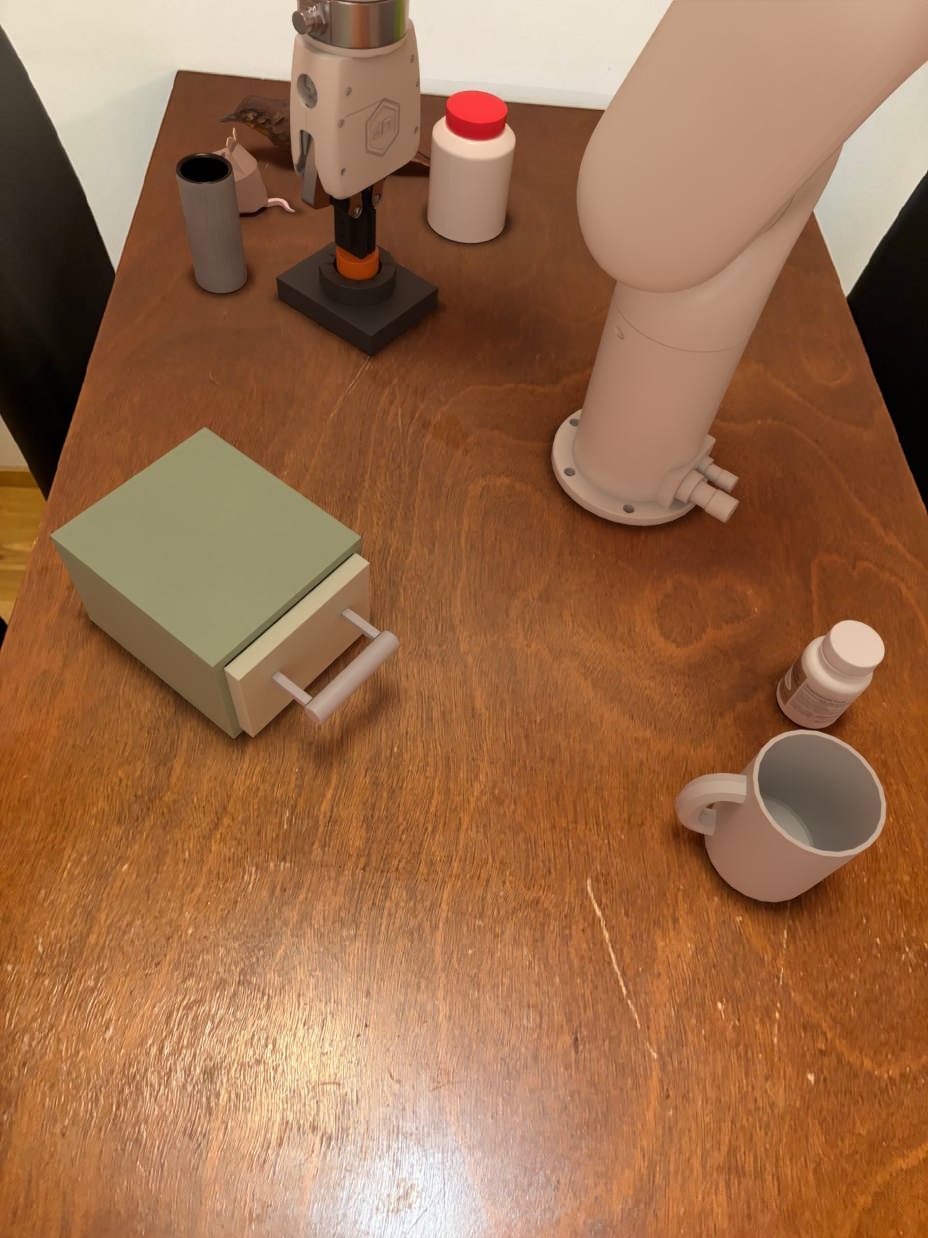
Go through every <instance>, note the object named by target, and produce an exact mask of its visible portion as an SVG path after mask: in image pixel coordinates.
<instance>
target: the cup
mask: <svg viewBox="0 0 928 1238" xmlns="http://www.w3.org/2000/svg"><path fill="white" fill-rule="evenodd" d="M712 804H713V805H712ZM710 805H712V807H711V808H708V806H710ZM674 810H675V813H676V815H677V817H678V820H679V822H680V824H681V825H683V826H684V827H685V828H687V829H689V830H691V831H693V832H695V833H698V834H702V835H704V836H703V837H704V844H705V849H706V852H707V854H708V857H709V861H710V862H711V864H712V865H713V867H714V868H715V870H716V872H717V873H718V874H719V876H720V877H721V878H722V879H723V880H724V881H725V882H726V883H727V884H728V885H729V886H730V887H731V888H733V889H734V890H736V891H738V892H739V893H741V894H742V895H744V896H746V897H747V898H748V897H749V898H752V899H754V900H757V901H759V902H770V903H779V902H784V901H785V902H786V901H789V900H792V899H795V898H796V897H798V896H799V895H802V894H803V893H805V892H807V891H809V890H810V889H811V888H813V887H814V886H816V885H817V884H819V883H820V882H821V881H823V880H824V879H826V878H827V877H828V876H830V875H831V874H833V873H834V872H835V871H837V870H838V869H840V868H841V867H842V866H844V865H845V864H847V863H848V862H850V861H851V860H852V859H854V858H855V857H857V856H858V855H859V854H861V853H862V852H864V851H865V850H867V849H868V848H870V847H871V846H872V845H873V843H874V842H875V841H876V840H877V839H878V838H879V836H880V835H881V833H882V831H883V828H884V826H885V823H886V818H887V801H886V797H885V792H884V788H883V785H882V784H881V780H880V779H879V777H878V775H877V773H876V771H875V770H874V769H873V767H872V766H871V765H870V764H869V762H868V761H867V760H866V759H865V757H863V755H861V754H860V752H858V751H857V750H856V749H855V748H853V747H852V746H851V745H850V744H849V743H846V742H845V741H842V740H841V739H839V738H837V737H836V736H834V735H832V734H831V735H830V734H828V733H824V732H821V731H819V730H810V729H796V730H790V731H785V732H783V733H781V734H778V735H776V736H774V737H772V738H771V739H770V740H769V741H768V742H767V743H766V744H764V745H763V747H762V748H761V749H760V750H759V751H758V752H757V753H756V754H755V755H754V757H752V759H751V760H750V761H749V762H748V763H747V764H746V766H745V767H744V768H743V769H742V770H741V772H740V773H739V774H738V773H729V772H728V773H727V772H719V773H708V774H703V775H701V776H699V777H696V778H693V779H692V780H690V781H689V782H687V783H686V784H685V785H684V786H683V788H682V789H681V790H680V791H679V794H678V795H677V797H676V799H675V803H674Z"/></svg>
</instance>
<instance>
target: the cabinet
mask: <svg viewBox="0 0 928 1238" xmlns="http://www.w3.org/2000/svg"><path fill="white" fill-rule="evenodd" d="M49 537H50V539H51V541H52V543H53V545H54V547H55V550H56V551H57V553H58V555H59V557H60V559H61V561H62V564H63V565H64V567H65V569H66V571H67V574H68V576H69V579H70V580H71V582H72V584H73V586H74V588H75V590H76V592H77V594H78V597H79V598H80V600H81V602H82V605H83V606H84V609H85V611H86V613H87V615H88V618H89V620H90V621H91V622H93V623H94V624H95V625H96V626H98V627H99V628H100V629H101V630H103V632H104V633H106V634H107V635H108V636H109V637H110V638H112V639H113V640H114V641H116V643H118V644H119V645H120V646H121V647H122V648H124V649H125V650H126V651H127V652H128V653H130V654H131V655H132V656H133V657H134V658H135V659H137V660H138V661H139V662H140V663H142V664H143V665H144V666H145V667H146V668H148V669H149V670H150V671H151V672H152V673H154V674H155V676H157V677H159V679H161V680H162V681H163V682H164V683H166V684H167V685H168V686H169V687H171V688H172V689H173V690H174V691H175V692H176V693H178V694H179V695H180V696H181V697H183V698H184V699H185V700H186V701H187V702H188V703H190V704H191V705H192V706H193V707H195V708H196V709H197V710H198V711H200V713H202V714H203V715H204V716H205V717H206V718H207V719H209V720H210V721H211V722H213V723H214V724H215V725H216V726H217V727H218V728H220V729H221V730H222V731H223V732H225V733H226V734H227V735H228V736H229V737H230V738H232V739H233V740H234V739H236V738H237V737H238V736H240V734H241V733H243V732H244V730H243V729H242V728H241V727H240V725H239V722H238V718H237V715H236V711H235V707H234V704H233V700H232V697H231V693H230V689H229V686H228V682H227V679H226V675H225V671H224V668H225V665H226V664H227V663H228V662H229V661H230V660H231V659H232V658H234V657H235V656H236V655H237V654H238V653H239V652H240V651H242V650H243V649H244V648H245V647H246V646H247V645H248V644H250V643H251V642H252V641H253V640H254V639H255V638H256V637H258V636H259V635H260V634H261V633H262V632H263V631H264V630H265V629H267V628H268V627H269V626H270V625H271V624H272V623H273V622H275V621H276V620H277V619H278V618H279V617H280V616H281V615H283V614H284V613H285V612H286V611H287V610H288V609H289V608H291V607H292V606H293V605H294V604H295V603H296V602H297V601H298V600H300V599H301V598H302V597H303V596H304V595H305V594H306V593H308V592H309V591H310V590H311V589H312V588H313V587H314V586H316V585H317V584H318V583H319V582H320V581H321V580H322V579H324V578H325V577H326V576H327V575H328V574H329V573H330V572H331V571H333V572H334V571H335V570H336V569H337V568H339V567H340V566H341V565H342V564H343V563H344V562H345V561H347V560H348V559H349V558H350V557H351V556H352V555H353V554H354V553H357V554H358V555H360V556H361V557H362V558H363V555H362V543H363V541H362V540H363V539H362V536H360V535H359V534H358V533H356V532H355V531H354V530H352V529H351V528H349V527H348V526H347V525H345V524H343V522H341V521H339V520H338V519H337V518H335V517H334V516H332V515H331V514H330V513H328V512H327V511H326V510H324V509H322V508H321V507H320V506H318V505H316V503H314V502H312V501H311V500H309V499H308V498H307V497H305V496H304V495H302V494H301V493H300V492H298V491H297V490H296V489H294V488H292V487H291V486H290V485H288V484H287V483H286V482H284V481H283V480H281V479H279V477H277V476H276V475H274V474H273V473H271V472H270V471H269V470H267V469H266V468H264V467H263V466H262V465H260V464H258V463H257V462H256V461H254V460H253V459H251V458H250V457H249V456H248V455H246V454H244V453H243V452H242V451H240V450H238V449H237V448H236V447H234V446H233V445H232V444H230V443H229V442H227V441H226V440H224V439H223V438H222V437H220V436H219V435H218V434H216V433H214V432H213V431H212V430H210V429H209V428H208V427H206V426H203V427H202V428H201V429H199V430H198V431H196V432H194V434H192V435H191V436H190V437H188V438H187V439H185V440H183V442H181V443H180V444H178V445H177V446H175V447H174V448H172V449H171V450H169V451H168V452H166V453H165V454H163V455H162V456H160V457H159V458H158V459H157V460H155V461H153V462H152V463H151V464H149V465H148V466H147V467H145V468H144V469H142V470H141V471H139V472H138V473H136V474H135V475H133V476H131V478H129V479H128V480H126V481H125V482H123V483H122V484H121V485H119V486H118V487H117V488H116V487H115V489H114V490H112V491H111V492H109V493H108V494H106V495H105V496H104V497H102V498H100V499H99V500H98V501H97V502H95V503H93V504H92V505H90V506H89V507H87V508H86V509H84V510H83V511H82V512H81V513H80V514H78V515H76V516H74V517H73V518H72V519H70V520H69V521H68V522H66V523H65V524H63V525H62V526H60V527H58V528H57V529H56V530H54V531H53V532H52V533H51V534H49Z"/></svg>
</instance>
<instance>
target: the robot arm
mask: <svg viewBox="0 0 928 1238" xmlns="http://www.w3.org/2000/svg"><path fill="white" fill-rule="evenodd" d="M296 6H297V7H296V8H297V10H295V11H293V12H292V14H291V22H292V26H293V28H294V30H295V31H296V35H294V42H293V49H292V61H291V73H290V91H289V93H290V95H289V97H290V98H289V100H290V130H291V148H292V154H291V157H292V163H293V169H294V172H295V175H296V176H297V177H298V178H301V179H302V180H303V181H302V191H301V202H302V203H303V204H304V205H307V206H308V207H310V208H311V209H313V210H316V211H317V210H321V209H325V208H328V207H330V206H332V207H333V224H334V225H333V226H334V229H333V230H334V241H335V243H336V244H337V245H338V246H339V247H341V248H342V249H344V250H346V251H347V252H349V253H351V254H352V255H354V256H356V257H357V258H359V259H363V258H365V257H366V256H367V253H368V254H371V253H372V252H374V251H375V250H376V245H377V208H375V207H378V206H379V205H380V203H381V202H382V201H383V200H382V199H383V193H384V184H385V181H386V179H387V178H388V176H389V175H391V174H392V173H395V171H397V170H398V169H401V168H402V167H404V166H405V165H406V164H408V163H409V162H411V161H410V160H411V159H412V158H413V157H414V156H415V155H416V153H417V151H418V147H419V144H420V138H421V137H420V136H421V72H420V71H421V70H420V58H419V49H418V41H417V34H416V30H415V24H414V22H413V20H412V19H411V18H410V0H296ZM927 62H928V0H672V1H671V3H670V5H669V6H668V8H667V9H666V11H665V13H664V14H663V16H662V18H661V19H660V20H659V22H658V24H657V26H656V27H655V29H654V31H653V32H652V33H651V35H650V37H649V39H648V40H647V42H646V43H645V45H644V47H643V48H642V50H641V52H640V54H639V55H638V56H637V58H636V59H635V62H634V63H633V65H632V66H631V68H630V70H629V71H628V72H627V75H626V76H625V78H624V79H623V81H622V82H621V84H620V85H619V87H618V89H617V90H616V93H615V94H614V95H613V97H612V99H611V100H610V103H609V104H608V105H607V107H606V108H605V110H604V112H603V114H602V115H601V118H600V119H599V121H598V123H597V124H596V127H595V128H594V130H593V132H592V134H591V136H590V138H589V140H588V142H587V145H586V147H585V150H584V153H583V156H582V159H581V163H580V167H579V170H578V177H577V184H576V214H577V219H578V224H579V228H580V232H581V235H582V238H583V241H584V244H585V245H586V247H587V249H588V252H589V253H590V255H591V257H592V258H593V260H594V261H595V262H596V265H598V266H599V267H600V268H601V269H602V270H603V271H604V272H605V273H606V274H607V275H608V276H609V277H611V278H612V279H614V280H615V281H616V284H615V286H614V289H613V293H612V296H611V301H610V305H609V308H608V312H607V315H606V320H605V323H604V327H603V330H602V334H601V338H600V341H599V346H598V349H597V353H596V356H595V361H594V362H593V363H594V364H593V368H592V371H591V374H590V378H589V383H588V386H587V390H586V393H585V397H584V400H583V405H582V408H580V409H578V410H576V411H575V412H574V413H572V414H570V415H569V416H568V417H567V418H566V419H565V420H563V422H562V423H560V426H559V427H558V429H557V431H556V433H555V435H554V438H553V442H552V447H551V452H550V453H551V454H550V459H551V465H552V466H551V467H552V470H553V473H554V476H555V478H556V480H557V482H558V483H559V485H560V487H561V488H562V489H563V491H564V492H565V493H566V494H567V495H568V496H569V497H570V498H571V499H572V501H574V502H575V503H576V504H578V506H581V507H582V508H583V509H585V510H586V511H588V512H590V513H592V514H594V515H596V516H597V517H600V518H603V519H606V520H608V521H611V522H613V523H619V524H623V525H627V526H641V527H643V526H656V525H662V524H666V523H668V522H672V521H674V520H677V519H679V518H681V517H683V516H685V515H686V514H687V513H689V512H690V511H691V510H692V509H694V508H695V506H696V505H697V506H698V507H700V508H702V509H703V510H704V512H705V513H707V514H709V516H712V517H713V518H715V519H717V520H718V521H719V522H722V523H723V524H725V523H727V522H728V521H729V519H730V518H731V516H732V515H733V514H734V513H735V511H736V509H737V508H738V506H739V504H740V501H739V500H738V499H737V498H735V497H733V496H731V495H730V493H731V492H732V491H733V489H734V488H735V486H736V485H737V484H738V482H739V480H740V477H738V476H737V475H735V474H733V473H732V472H730V471H729V470H726V469H723V468H721V467H720V466H718V465H717V464H715V463H714V462H715V459H714V458H712V457H710V454H711V452H712V450H713V448H714V446H715V443H716V441H717V439H716V438H715V437H714V436H712V435H710V434H709V432H710V429H711V428H712V425H713V422H714V421H715V418H716V416H717V414H718V411H719V410H720V407H721V405H722V402H723V400H724V397H725V395H726V393H727V391H728V389H729V386H730V384H731V381H732V379H733V377H734V375H735V373H736V370H737V368H738V366H739V364H740V361H741V359H742V357H743V354H744V352H745V350H746V348H747V345H748V343H749V341H750V339H751V336H752V334H753V332H754V330H755V329H756V326H757V324H758V322H759V319H760V317H761V316H762V312H763V310H764V309H765V306H766V304H767V302H768V299H769V297H770V295H771V293H772V291H773V288H774V287H775V284H776V282H777V280H778V279H779V276H780V273H781V272H782V270H783V268H784V265H785V264H786V262H787V260H788V258H789V256H790V254H791V252H792V250H793V248H794V246H795V244H796V243H797V241H798V239H799V237H800V236H801V233H802V232H803V230H804V228H805V226H806V225H807V222H809V219H810V217H811V215H812V213H813V212H814V210H815V208H816V207H817V204H818V203H819V201H820V199H821V196H822V195H823V193H824V192H825V189H826V188H827V186H828V183H829V181H830V180H831V177H832V176H833V173H834V171H835V169H836V167H837V164H838V162H839V159H840V156H841V154H842V151H843V147H844V144H845V143H846V142H847V140H849V139H850V138H851V137H852V135H854V133H855V132H856V131H858V129H859V128H860V127H861V126H862V125H863V124H864V123H865V122H866V121H867V120H868V119H869V118H870V117H871V116H872V115H873V114H874V113H875V111H877V109H878V108H879V107H881V105H882V104H884V102H885V101H886V100H887V99H889V98H890V97H891V96H892V95H893V93H894V92H896V91H897V90H898V89H899V88H900V86H902V85H903V84H904V83H905V82H906V81H907V80H908V79H909V78H910V77H912V76H913V75H914V74H915V73H916V72H917V71H918V70H919V69H920V68H922V66H924V65H925V64H926V63H927ZM708 481H710V482H711V483H713V484H714V485H715V486H717V487H718V489H716V488H715V487H713V486H711V485H710V484H709V483H708ZM719 488H720V489H719ZM726 492H727V493H726Z"/></svg>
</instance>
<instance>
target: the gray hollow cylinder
mask: <svg viewBox="0 0 928 1238" xmlns="http://www.w3.org/2000/svg"><path fill="white" fill-rule="evenodd" d="M174 171H175V176H176V177H175V178H176V182H177V187H178V192H179V198H180V203H181V208H182V213H183V219H184V224H185V229H186V234H187V235H186V236H187V240H188V245H189V249H190V250H189V251H190V255H191V261H192V266H193V271H194V277H195V280H196V283H197V284H198V286H200V288H202V289H203V290H205V291H207V292H210V293H214V294H227V293H232V292H235V291H238V290H240V289H241V288H242V287H243V286H245V284H246V283H247V280H248V270H247V262H246V255H245V248H244V241H243V238H244V237H243V233H242V232H243V231H242V225H241V217H240V214H239V209H238V201H237V194H236V186H235V179H234V172H233V166H232V164H231V163H230V161H229V160H227V159H226V158H225V157H223V156H221V155H218V154H214V153H213V152H195V153H194V152H193V153H191V154H188V155H185V156H183V157H182V158H181V159H180V160H178V161H177V162H176V164H175V167H174Z"/></svg>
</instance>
